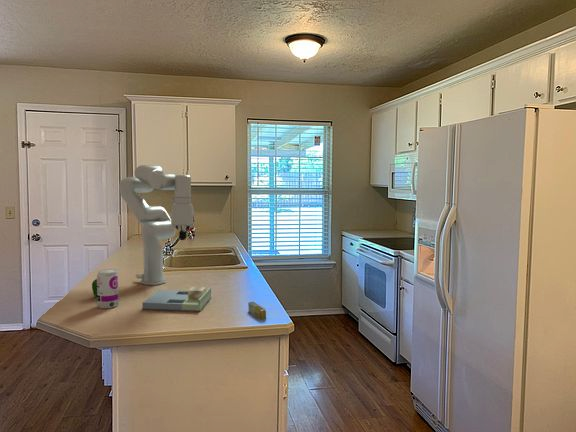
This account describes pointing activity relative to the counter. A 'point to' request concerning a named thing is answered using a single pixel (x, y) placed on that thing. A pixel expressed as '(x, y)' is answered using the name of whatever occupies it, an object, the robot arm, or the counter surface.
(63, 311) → the counter surface
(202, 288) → the maple block
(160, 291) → the slate trap deck
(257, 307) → the medication box
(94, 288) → the bell pepper
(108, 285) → the supplement can
